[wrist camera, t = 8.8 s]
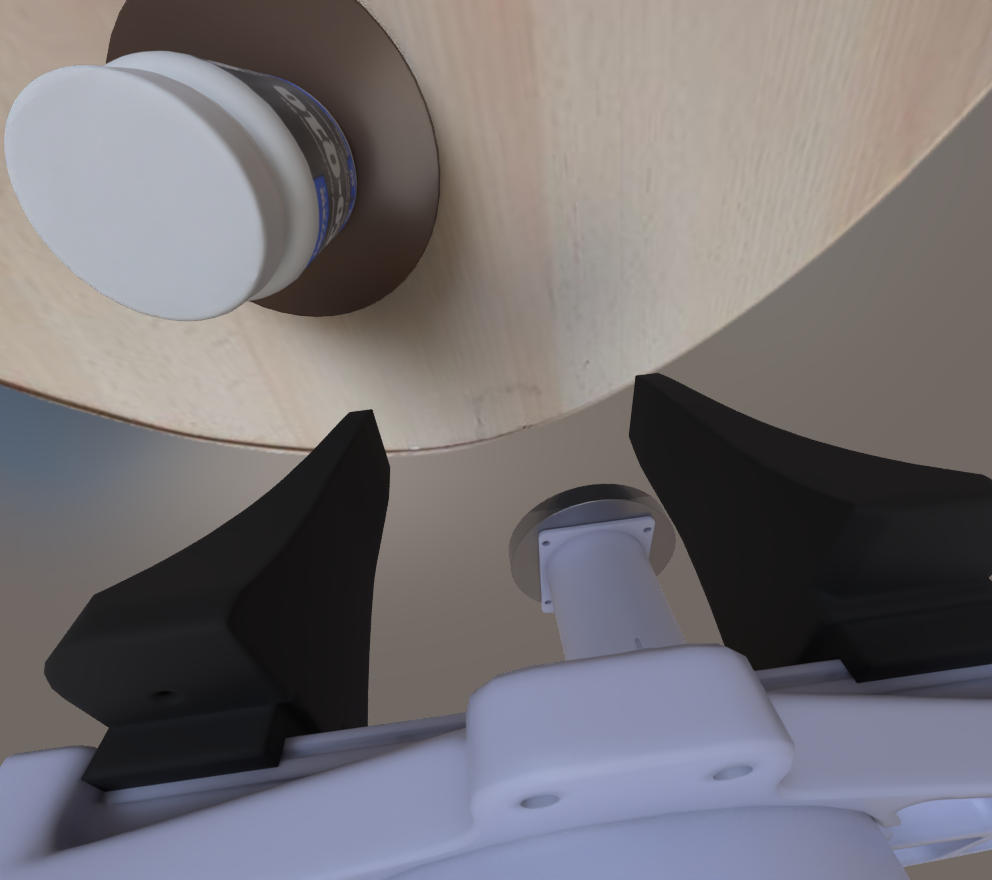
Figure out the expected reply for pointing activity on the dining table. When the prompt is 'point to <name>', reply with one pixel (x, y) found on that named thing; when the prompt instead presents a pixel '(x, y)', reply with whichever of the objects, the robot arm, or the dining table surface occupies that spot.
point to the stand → (353, 104)
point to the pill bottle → (179, 179)
